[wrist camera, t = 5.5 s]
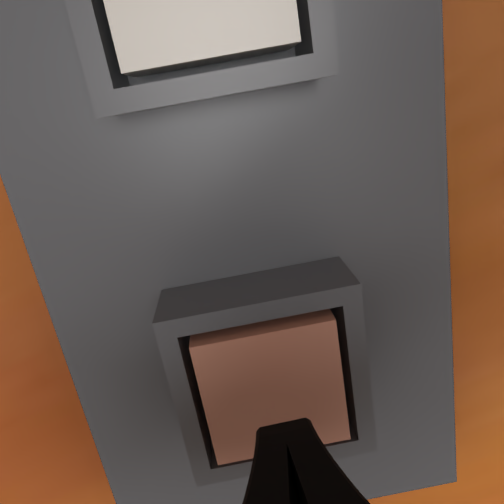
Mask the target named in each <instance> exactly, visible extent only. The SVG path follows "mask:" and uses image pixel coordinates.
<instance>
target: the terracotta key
mask: <svg viewBox="0 0 504 504" xmlns="http://www.w3.org/2000/svg"><path fill="white" fill-rule="evenodd" d="M189 351H190V355H191V359H192V363H193V367H194V371H195V375H196V379H197V383H198V387H199V391H200V395H201V399H202V403H203V407H204V411H205V415H206V419H207V423H208V427H209V431H210V436H211V440H212V444H213V448H214V452H215V456H216V460H217V464H218V465H222V464H227V463H232V462H237V461H242V460H247V459H252V458H253V456H254V450H255V442H256V431H257V430H258V429H259V427H263V426H268V425H273V424H277V423H282V422H287V421H291V420H296V419H301V418H305V417H306V418H308V419H309V420H311V422H312V425H313V427H314V429H315V430H316V432H317V434H318V436H319V438H320V439H321V441H322V442H323V444H328V443H334V442H339V441H344V440H349V439H351V437H350V429H349V421H348V413H347V405H346V397H345V389H344V381H343V373H342V364H341V356H340V348H339V340H338V332H337V324H336V319H335V317H334V315H333V314H332V312H331V310H330V309H325V310H320V311H314V312H309V313H304V314H299V315H293V316H288V317H283V318H278V319H272V320H267V321H262V322H257V323H252V324H246V325H241V326H236V327H231V328H225V329H220V330H215V331H210V332H204V333H199V334H194V335H190V342H189Z"/></svg>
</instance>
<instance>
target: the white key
mask: <svg viewBox="0 0 504 504" xmlns="http://www.w3.org/2000/svg"><path fill="white" fill-rule="evenodd" d="M103 2H104V6H105V10H106V14H107V18H108V22H109V26H110V30H111V34H112V38H113V42H114V46H115V50H116V55H117V59H118V63H119V67H120V71H121V74H124V75H128V76H131V77H135V78H136V77H141V76H147V75H152V74H158V73H163V72H169V71H175V70H180V69H186V68H191V67H197V66H202V65H208V64H214V63H219V62H225V61H230V60H236V59H241V58H247V57H252V56H258V55H264V54H269V53H275V52H280V51H286V50H289V49H291V48H292V47H294V46H295V45H297V44H298V43H300V42H301V35H300V27H299V19H298V11H297V3H296V0H103Z"/></svg>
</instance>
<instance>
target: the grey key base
mask: <svg viewBox="0 0 504 504" xmlns="http://www.w3.org/2000/svg"><path fill="white" fill-rule="evenodd" d="M296 3H297V11H298V19H299V27H300V35H301V42H300V43H298V44H297V45H295V46H294V47H292V48H291V49H289V50H286V51H280V52H275V53H269V54H264V55H258V56H252V57H247V58H241V59H236V60H230V61H225V62H219V63H214V64H208V65H202V66H197V67H191V68H186V69H180V70H175V71H169V72H163V73H158V74H152V75H147V76H141V77H136V78H135V77H131V76H128V75H124V74H121V71H120V67H119V63H118V59H117V55H116V50H115V46H114V42H113V38H112V34H111V30H110V26H109V22H108V18H107V14H106V10H105V6H104V2H103V0H0V175H1V178H2V180H3V183H4V186H5V189H6V192H7V195H8V198H9V200H10V203H11V206H12V209H13V212H14V215H15V217H16V220H17V223H18V226H19V229H20V232H21V234H22V237H23V240H24V243H25V246H26V249H27V251H28V254H29V257H30V260H31V263H32V266H33V268H34V271H35V274H36V277H37V280H38V283H39V286H40V288H41V291H42V294H43V297H44V300H45V303H46V305H47V308H48V311H49V314H50V317H51V320H52V322H53V325H54V328H55V331H56V334H57V337H58V339H59V342H60V345H61V348H62V351H63V354H64V356H65V359H66V362H67V365H68V368H69V371H70V374H71V376H72V379H73V382H74V385H75V388H76V391H77V393H78V396H79V399H80V402H81V405H82V408H83V410H84V413H85V416H86V419H87V422H88V425H89V427H90V430H91V433H92V436H93V439H94V442H95V445H96V447H97V450H98V453H99V456H100V459H101V462H102V464H103V467H104V470H105V473H106V476H107V479H108V481H109V484H110V487H111V490H112V493H113V496H114V498H115V501H116V504H242V503H243V500H244V496H245V492H246V488H247V484H248V480H249V476H250V472H251V467H252V462H253V458H252V459H247V460H242V461H237V462H232V463H227V464H222V465H218V464H217V460H216V456H215V452H214V448H213V444H212V440H211V436H210V431H209V427H208V423H207V419H206V415H205V411H204V407H203V403H202V399H201V395H200V391H199V387H198V383H197V379H196V375H195V371H194V367H193V363H192V359H191V355H190V351H189V342H190V335H194V334H199V333H204V332H210V331H215V330H220V329H225V328H231V327H236V326H241V325H246V324H252V323H257V322H262V321H267V320H272V319H278V318H283V317H288V316H293V315H299V314H304V313H309V312H314V311H320V310H325V309H330V310H331V312H332V314H333V315H334V317H335V319H336V324H337V332H338V340H339V348H340V356H341V364H342V373H343V381H344V389H345V397H346V405H347V413H348V421H349V429H350V437H351V439H349V440H344V441H339V442H334V443H328V444H324V445H325V447H326V448H327V450H328V451H329V453H330V454H331V456H332V457H333V459H334V460H335V461H336V463H337V464H338V465H339V467H340V468H341V469H342V470H343V472H344V473H345V474H346V476H347V477H348V478H349V480H350V481H351V482H352V483H353V484H354V486H355V487H356V488H357V489H358V490H359V492H360V493H361V494H362V495H363V496H364V497H365V498H366V500H367V499H372V498H377V497H382V496H387V495H392V494H397V493H402V492H407V491H412V490H417V489H422V488H427V487H432V486H437V485H442V484H447V483H452V482H457V476H456V444H455V411H454V378H453V345H452V312H451V280H450V247H449V214H448V181H447V149H446V116H445V83H444V50H443V17H442V0H296Z"/></svg>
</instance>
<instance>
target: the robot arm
mask: <svg viewBox="0 0 504 504" xmlns="http://www.w3.org/2000/svg"><path fill="white" fill-rule="evenodd" d="M242 504H370V503H369V502H368V501H367V500H366V498H365V497H364V496H363V495H362V494H361V493H360V492H359V490H358V489H357V488H356V487H355V486H354V484H353V483H352V482H351V481H350V480H349V478H348V477H347V476H346V474H345V473H344V472H343V470H342V469H341V468H340V467H339V465H338V464H337V463H336V461H335V460H334V459H333V457H332V456H331V454H330V453H329V451H328V450H327V448H326V447H325V445H324V444H323V442H322V441H321V439H320V438H319V436H318V434H317V432H316V430H315V429H314V427H313V425H312V422H311V420H309V419H308V418H306V417H305V418H301V419H296V420H291V421H287V422H282V423H277V424H273V425H268V426H263V427H259V429H258V430H257V431H256V442H255V450H254V456H253V462H252V467H251V472H250V476H249V480H248V484H247V488H246V492H245V496H244V500H243V503H242Z"/></svg>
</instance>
